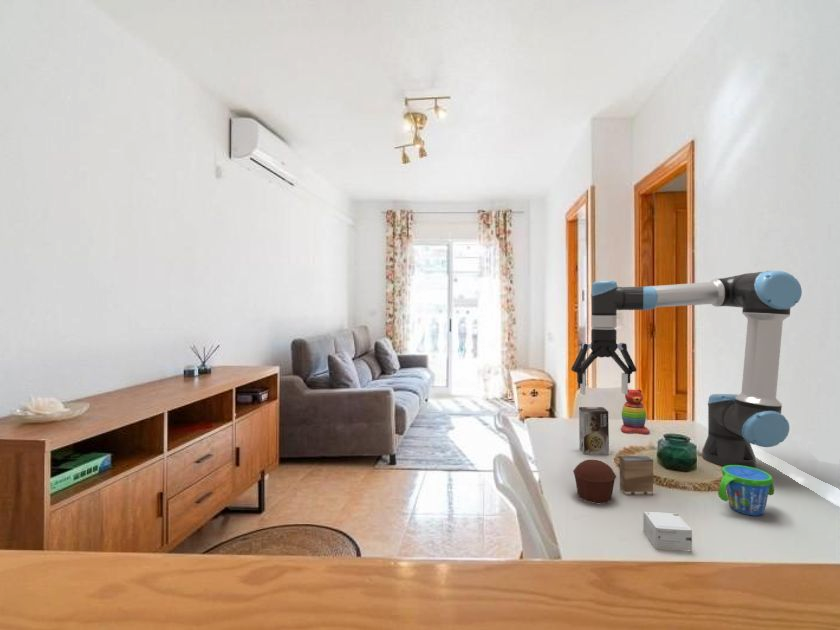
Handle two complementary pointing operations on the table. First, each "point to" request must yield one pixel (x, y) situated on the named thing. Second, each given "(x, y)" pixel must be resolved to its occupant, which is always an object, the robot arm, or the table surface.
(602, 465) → the muffin
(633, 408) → the stacking bear
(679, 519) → the small box
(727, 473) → the snack cup
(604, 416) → the coffee box
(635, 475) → the brown thick block
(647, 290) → the robot arm
